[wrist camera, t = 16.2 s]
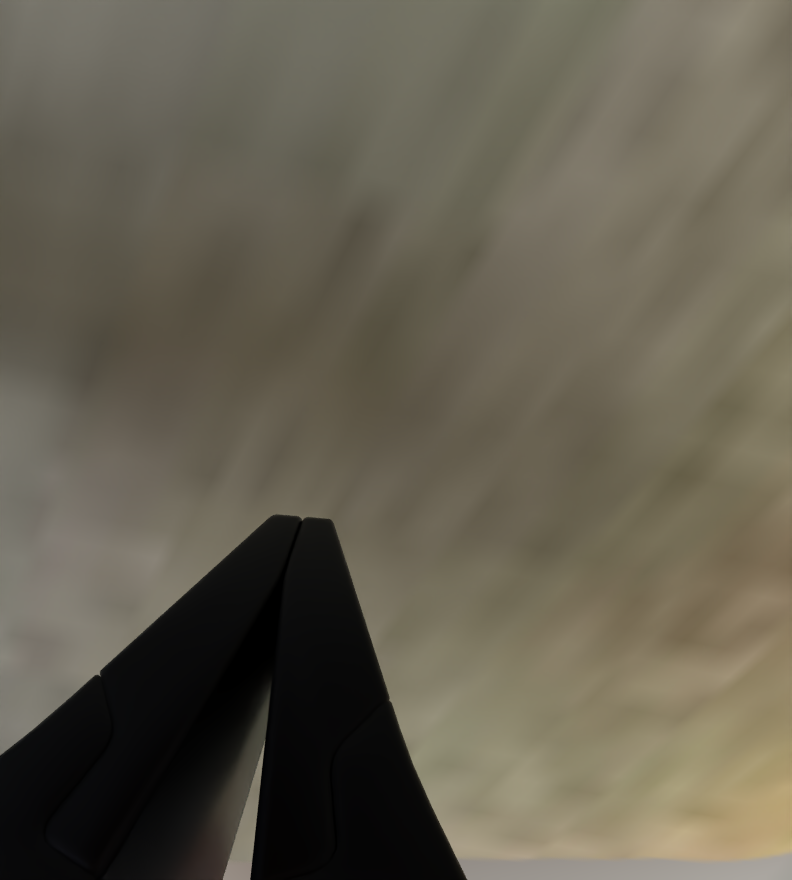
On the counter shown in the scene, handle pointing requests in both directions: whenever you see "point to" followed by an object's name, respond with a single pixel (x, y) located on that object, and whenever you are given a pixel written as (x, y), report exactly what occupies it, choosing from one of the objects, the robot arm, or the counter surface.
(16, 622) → the counter surface
